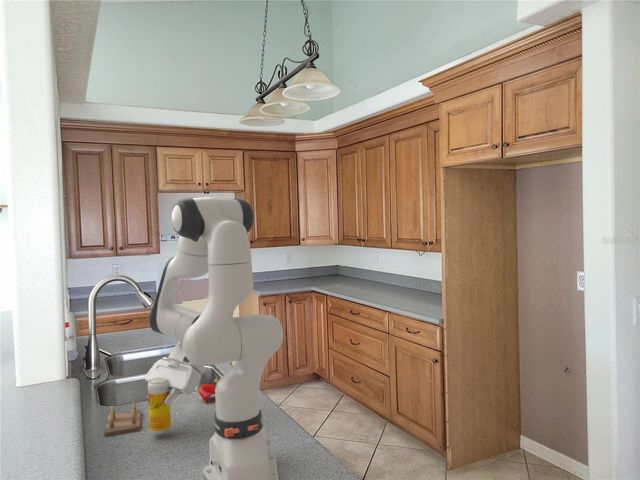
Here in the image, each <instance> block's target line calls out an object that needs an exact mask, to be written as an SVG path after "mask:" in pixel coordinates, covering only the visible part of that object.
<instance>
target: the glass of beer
mask: <svg viewBox="0 0 640 480" xmlns="http://www.w3.org/2000/svg"><path fill="white" fill-rule="evenodd" d="M168 384H169V382H168V379H167V378H163V377H161V378H154V379H151V380H150V381H149V383H148V382H147V396H148V398H147V401H148V402H147V403H148V421H149V422H148V423H149V424H148V425H149V431H151V433H153V434H163V433H165V432H168V431H169V430H170V428H171V426H172V419H171V403H170V404H169V405H166V404H164V403H163V402H162V401H163V400H164V398H165V397H167V396H168V395H169V394H170V393H171V391H170V390H169V386H168Z"/></svg>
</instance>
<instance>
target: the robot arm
mask: <svg viewBox="0 0 640 480" xmlns="http://www.w3.org/2000/svg"><path fill="white" fill-rule="evenodd" d="M254 217H255V215H254V211H253V208H252V207H251V205H250V203H249V202H248V201H247V200H243V199H240V198H226V197H225V198H224V197H215V196H202V197H201V196H200V197H185V198H181V199H179V200H178V199H177V201H176V202H175V204H174V205H173V207H172V212H171V223H172V227H173V230H174V231H175V233H176V234H178V235H179V236H178V242H177V248H176V249H177V250H176V253H175V255H174V256H172V257H170V258H169V259H168V260H167V262H166V264H165V265H164V267H163V270H162V274H161V277H160V281H159V284H158V288H157V292H156V295H155V299H154V302H153V305H152V308H151V310H150V312H149V315H148V323H149V326H150V329H151V330H152V331H153V332H155V333H158V334H161V335H166V336H169V337H171V338H173V339H176V340H179V341H178V342H177V343H176V344H174V347H173V348H172V350H171V352H170V353H169V355H168V356H167V357H166V356H163V357H162V358H160V359H159V360H157V361H156V362H154V363H153V365H152V366H151V367H150V369H149V370H148V371H147V373H146V375H145V376H144V381H145V382H146V383H147V384H148V383H149V381H150V380H151V379H154V378H161V377H163V378H167V379H168V382H169V384H168V386H169V391H170V394H169V395H168V396H167V397H165V398H164V400H163V401H162V402H163V403H164V404H166V405H169V404H170V405H171V402H172V401H173V400H174V399H176V398H177V397H178V396H179V395H180V393H181V394H185V395H187V396H189V395H191V394H193V392H194V391H196V388H197V387H198V385H199V383H200V381H201V379H202V375H203V374H204V373H205V372H206V370H207V368H206V366H215V365H220V364H226V363H232V362H234V364H233V366H232V368H231V369H230V370H229V371H228V372H227V373H225V374H224V375H223V376H221V378H220V379H219V380H218V382H217V383H216V386H215V387H216V388H215V394H214V397H215V414H214V421H213V422H214V424H213V425H214V430H215V431H214V434H213V435H212V436H211V438H209V465H207V466H206V467H204V468H203V469H202V475H203V476H204V477H205V479H206V480H279V472H278V464H277V462H278V461H277V456H276V454H275V449H274V448H272V449H268V445H271V443H272V442H271V438H270V437H268V436H267V428H266V427H264V426H263V415H262V410H261V409H260V385H261V378H262V374H263V372H264V369H265V367H266V366H267V363H268V362H269V360H270V359H271V358H272V357H273V355H274V354H275V353H276V352H278V350H279V349H280V348H281V346H282V343H283V339H284V329H283V326H282V324H281V322H280V320H279V319H278V318H277V317H276V316H274V315H270V314H257V313H256V314H248V315H241V316H234V313H235V310H236V308H237V307H238V306H239V305H240V304H242V303H243V302H245V301H246V300H247V299H249V297H250V296H251V295H252V293H253V290H254V278H253V261H252V260H253V259H252V250H251V245H250V240H249V236H248V233H249V232H250V231H251V229H252V227H253V225H254V219H255V218H254ZM207 274H208V293H207V294H208V295H207V299H206V303H205V305H204V308H203V310H202V311H201V312H198V311H196V310H192V309H189V308H186V307H185V306H181V305H179V304H177V303H176V302H175V301H174V299H175V294H176V292H177V287H178V284H179V281H180V280H188V279H198V278H199V277H200V278H201V277H202V276H205V275H207ZM146 398H147V399H148V395H147V396H146Z"/></svg>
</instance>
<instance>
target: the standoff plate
mask: <svg viewBox="0 0 640 480" xmlns="http://www.w3.org/2000/svg"><path fill="white" fill-rule="evenodd" d="M141 411H142V410H141V409H137V402H131V410H130V411H125V412H120V413H118V412H117V413H116V406H115V405H110V413H109V414H108V415H107V419H106V423H105V428H104V437H110V436H116V435H122V434H127V433H134V432H138V431H141V421H142V420H141V419H142V418H141V416H142V412H141Z"/></svg>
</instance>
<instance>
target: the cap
mask: <svg viewBox="0 0 640 480" xmlns="http://www.w3.org/2000/svg"><path fill="white" fill-rule="evenodd" d="M215 388H216V386H215V385H214V384H210V383H205V384H202V385H201V386H200V387H199V389H198V391H197V392H198V394H199V396H200V397H201V398H202V400H203V401H204V402H205V403H206V404H208V403H209V400H208V398H209V399H210V397H212V396H213V395H215Z"/></svg>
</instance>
